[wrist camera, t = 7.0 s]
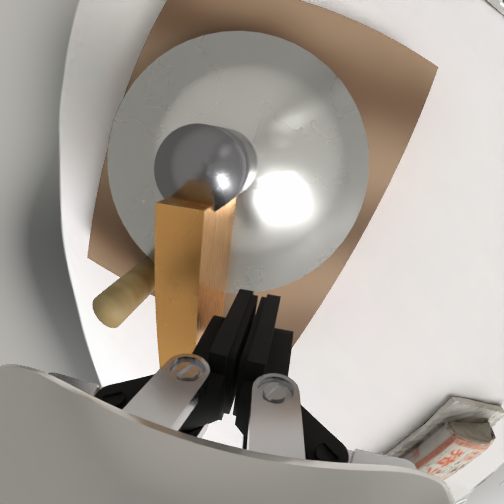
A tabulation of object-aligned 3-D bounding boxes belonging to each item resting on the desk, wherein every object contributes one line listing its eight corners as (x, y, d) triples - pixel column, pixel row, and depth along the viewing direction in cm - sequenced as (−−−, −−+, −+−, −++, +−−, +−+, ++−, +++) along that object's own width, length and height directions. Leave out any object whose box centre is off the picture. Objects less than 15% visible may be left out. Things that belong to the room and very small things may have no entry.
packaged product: (404, 510, 20) (342, 509, 21) (402, 482, 25) (344, 477, 25) (516, 434, 13) (465, 432, 14) (502, 402, 18) (450, 391, 18)
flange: (135, 45, 11) (69, 20, 6) (379, 61, 10) (417, 18, 5) (122, 285, 16) (69, 331, 12) (321, 333, 15) (320, 407, 10)
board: (192, -8, 11) (134, -63, 5) (424, 75, 11) (490, 40, 5) (104, 247, 19) (34, 291, 12) (287, 338, 18) (273, 424, 12)
